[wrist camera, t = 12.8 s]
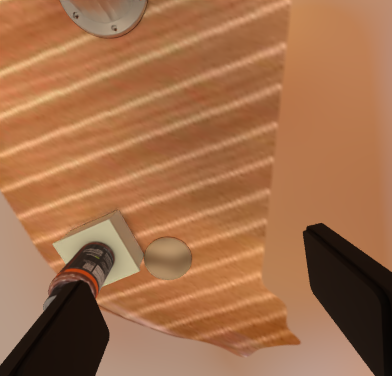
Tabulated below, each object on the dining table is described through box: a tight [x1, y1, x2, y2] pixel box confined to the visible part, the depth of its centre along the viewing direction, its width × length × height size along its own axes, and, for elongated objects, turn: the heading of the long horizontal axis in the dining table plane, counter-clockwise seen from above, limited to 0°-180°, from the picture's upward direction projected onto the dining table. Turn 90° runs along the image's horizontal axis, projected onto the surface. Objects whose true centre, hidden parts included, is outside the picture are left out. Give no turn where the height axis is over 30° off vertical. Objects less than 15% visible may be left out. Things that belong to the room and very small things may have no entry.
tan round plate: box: [144, 237, 192, 280], centre depth 43 cm, size 9×9×1 cm
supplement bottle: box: [43, 242, 115, 311], centre depth 32 cm, size 6×6×11 cm
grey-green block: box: [53, 210, 144, 287], centre depth 40 cm, size 10×10×5 cm
